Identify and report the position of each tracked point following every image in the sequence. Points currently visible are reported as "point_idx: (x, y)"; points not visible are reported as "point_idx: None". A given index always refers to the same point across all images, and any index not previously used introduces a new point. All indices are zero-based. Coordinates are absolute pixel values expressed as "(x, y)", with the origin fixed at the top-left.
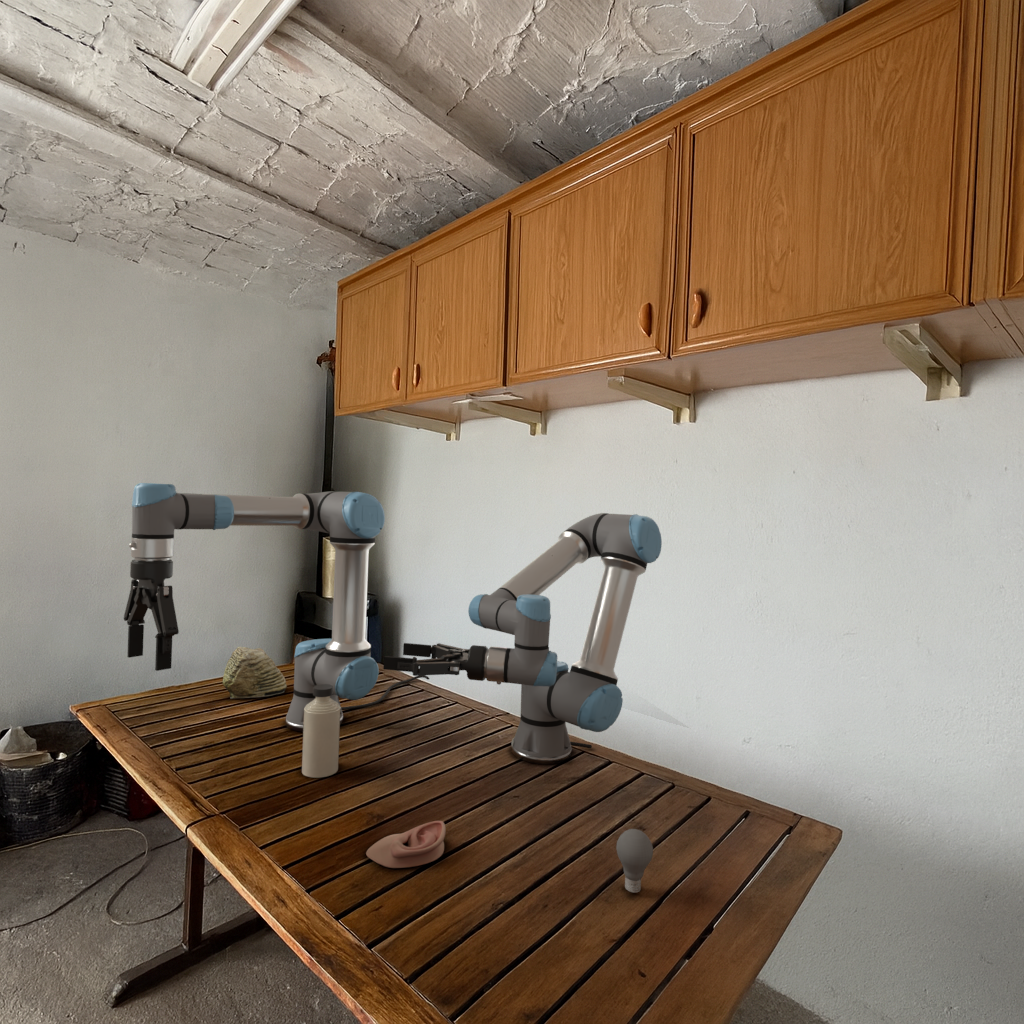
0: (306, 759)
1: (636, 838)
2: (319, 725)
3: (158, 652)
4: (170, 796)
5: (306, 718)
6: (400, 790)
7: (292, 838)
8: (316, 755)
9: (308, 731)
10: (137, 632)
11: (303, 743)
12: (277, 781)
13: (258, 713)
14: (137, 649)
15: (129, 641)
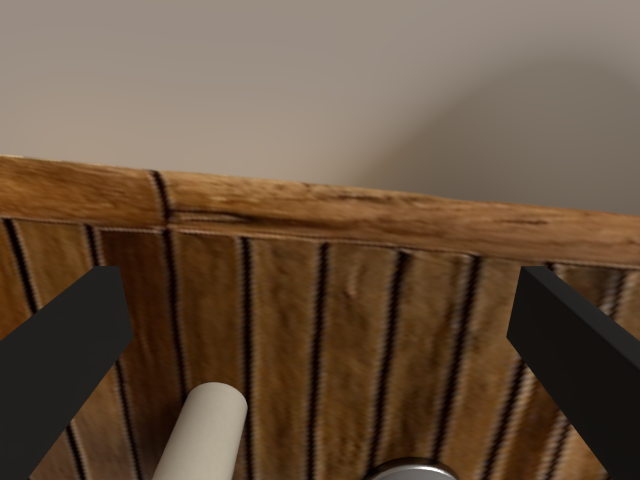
0: (201, 404)
1: None
2: (155, 476)
3: (14, 339)
4: (294, 197)
5: (180, 477)
6: (70, 440)
7: (10, 266)
8: (180, 419)
9: (180, 452)
10: (625, 434)
11: (208, 427)
12: (222, 344)
13: (536, 459)
14: (533, 335)
15: (592, 328)
